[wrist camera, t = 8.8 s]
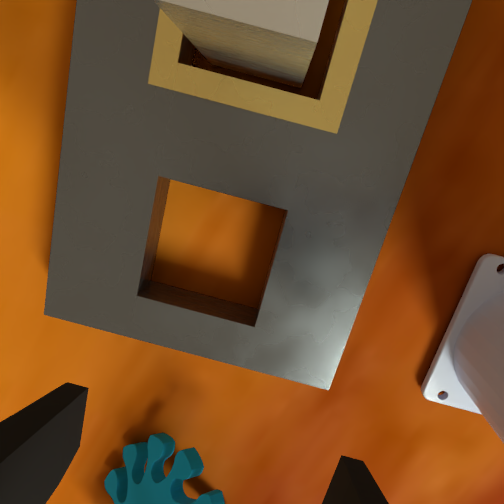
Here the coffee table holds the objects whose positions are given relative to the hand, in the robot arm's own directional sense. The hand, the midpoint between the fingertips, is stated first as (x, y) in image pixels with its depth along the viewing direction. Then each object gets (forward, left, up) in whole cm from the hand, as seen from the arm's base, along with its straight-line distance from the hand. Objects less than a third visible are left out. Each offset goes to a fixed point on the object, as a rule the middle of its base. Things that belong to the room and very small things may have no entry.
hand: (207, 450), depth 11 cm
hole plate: (+2, -8, -9) cm, 13 cm away
